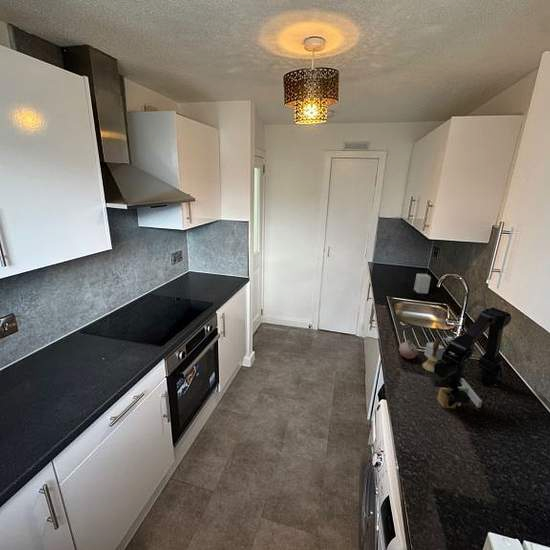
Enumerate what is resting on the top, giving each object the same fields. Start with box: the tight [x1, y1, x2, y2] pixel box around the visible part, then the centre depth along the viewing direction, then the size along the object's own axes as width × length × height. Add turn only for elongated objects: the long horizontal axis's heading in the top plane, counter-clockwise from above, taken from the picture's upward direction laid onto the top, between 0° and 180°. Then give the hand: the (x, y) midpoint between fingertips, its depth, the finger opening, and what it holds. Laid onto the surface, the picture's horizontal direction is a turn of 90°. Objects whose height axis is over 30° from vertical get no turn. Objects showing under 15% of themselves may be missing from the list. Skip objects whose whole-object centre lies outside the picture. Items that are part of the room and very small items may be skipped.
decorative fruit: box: [398, 339, 418, 360], centre depth 157 cm, size 9×8×10 cm
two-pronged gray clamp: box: [456, 378, 483, 409], centre depth 133 cm, size 18×10×5 cm, turn 177°
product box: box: [423, 342, 445, 361], centre depth 159 cm, size 6×6×7 cm
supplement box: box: [413, 273, 432, 295], centre depth 256 cm, size 9×9×15 cm
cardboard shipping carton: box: [436, 387, 457, 409], centre depth 126 cm, size 5×5×6 cm
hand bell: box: [421, 338, 440, 373], centre depth 149 cm, size 8×8×16 cm
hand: (446, 401), depth 126 cm, fingers closed on cardboard shipping carton, 5 cm apart
